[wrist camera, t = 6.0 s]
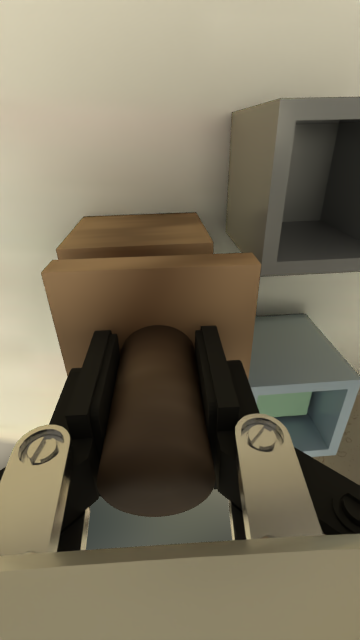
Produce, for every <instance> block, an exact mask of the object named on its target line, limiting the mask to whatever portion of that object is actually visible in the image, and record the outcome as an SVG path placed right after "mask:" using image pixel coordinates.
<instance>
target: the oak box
mask: <svg viewBox="0 0 360 640" xmlns="http://www.w3.org/2000/svg"><path fill="white" fill-rule="evenodd" d="M56 252H57V256H58V260H65V259H92V258H119V257H146V256H173V255H200V254H213V241H212V239H211V237H210V236H209V234H208V232H207V230H206V229H205V227H204V225H203V224H202V222H201V220H200V218H199V217H198V215H197V213H196V212H192V213H166V214H140V215H114V216H88V217H83V218H82V219H81V220H80V222H79V223H78V224H77V225H76V226H75V228H74V229H73V230H72V231H71V232H70V233H69V235H68V236H67V237H66V238H65V239H64V241H63V242H62V243H61V244H60V245H59V247H58V248H57V249H56Z"/></svg>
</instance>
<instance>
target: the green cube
mask: <svg viewBox="0 0 360 640" xmlns="http://www.w3.org/2000/svg"><path fill="white" fill-rule="evenodd" d="M311 394H312V392H301V393H287V394H273V395H259V396H258V400H257V407H258V409H259V412H260V414H266V415H269V416H271V417H283V416H297V415H306V414H307V410H308V406H309V402H310V398H311Z"/></svg>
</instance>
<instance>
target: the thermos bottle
mask: <svg viewBox="0 0 360 640" xmlns="http://www.w3.org/2000/svg"><path fill="white" fill-rule="evenodd" d="M312 458H314V459H316V460H317V461H319V462H321V463H322V464H324V465H326V466H328V467H329V468H331V469H333V470H334V471H336V472H338V473H340V474H341V475H343V476H345V477H346V478H348V479H350V480H351V481H353V482H355V483H357V484H358V485H360V388H359V391H358V393H357V396H356V399H355V402H354V405H353V408H352V411H351V413H350V416H349V419H348V422H347V425H346V428H345V431H344V433H343V436H342V439H341V442H340V445H339V448H338V451H337V453H336V455H331V456H319V457H312Z"/></svg>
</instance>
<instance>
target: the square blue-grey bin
mask: <svg viewBox="0 0 360 640" xmlns="http://www.w3.org/2000/svg"><path fill="white" fill-rule="evenodd" d="M248 381H249V384H250V387H251V390H252V392H253V395H254V398H255V401H256V404H257V400H258V396H259V395H273V394H287V393H301V392H312V394H311V398H310V402H309V406H308V410H307V414H306V415H297V416H283V417H274V418H275V419H277V420H279V421H280V422H281V423H282V424H283V425H284V426H285V427H286V428H287V430H288V432H289V434H290V437H291V440H292V443H293V446H294V447H295V448H297V449H299V450H300V451H302V452H304V453H305V454H307V455H309V456H311V457H319V456H331V455H336V453H337V451H338V448H339V445H340V442H341V439H342V436H343V433H344V431H345V428H346V425H347V422H348V419H349V416H350V413H351V411H352V408H353V405H354V402H355V399H356V396H357V393H358V391H359V388H360V376H359V375H358V374H357V373H356V372H355V370H354V369H353V368H352V367H351V366H350V365H349V363H348V362H347V361H346V360H345V359H344V358H343V357H342V355H341V354H340V353H339V352H338V351H337V350H336V348H335V347H334V346H333V345H332V344H331V343H330V341H329V340H328V339H327V338H326V337H325V336H324V335H323V333H322V332H321V331H320V330H319V329H318V328H317V326H316V325H315V324H314V323H313V322H312V321H311V319H310V318H309V317H308V316H307V315H306V314H292V315H274V316H257V317H255V325H254V334H253V343H252V352H251V360H250V369H249V378H248Z"/></svg>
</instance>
